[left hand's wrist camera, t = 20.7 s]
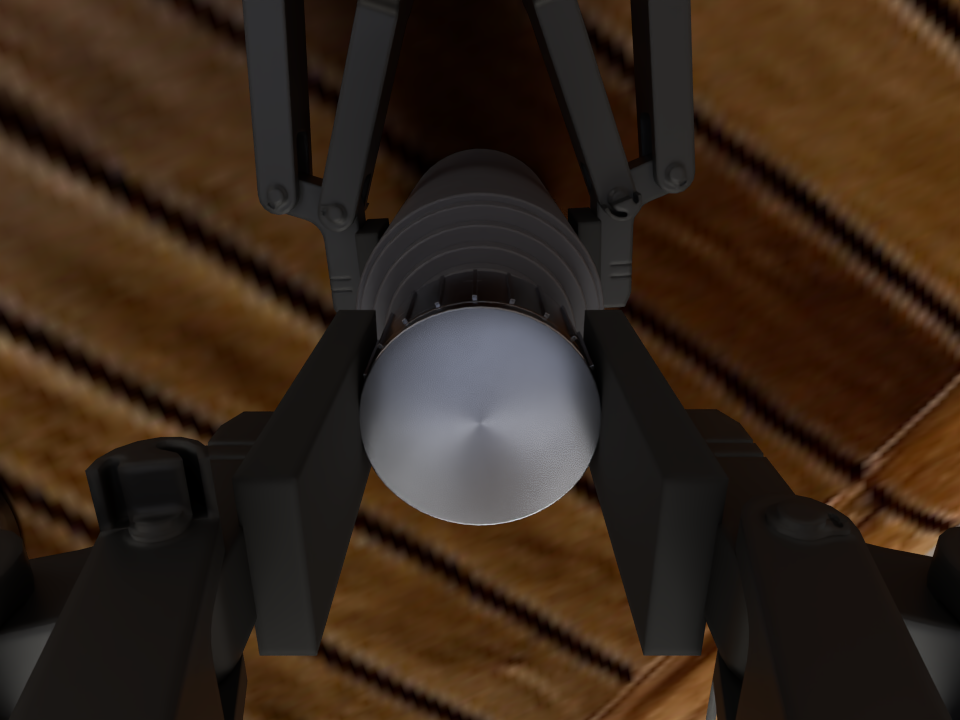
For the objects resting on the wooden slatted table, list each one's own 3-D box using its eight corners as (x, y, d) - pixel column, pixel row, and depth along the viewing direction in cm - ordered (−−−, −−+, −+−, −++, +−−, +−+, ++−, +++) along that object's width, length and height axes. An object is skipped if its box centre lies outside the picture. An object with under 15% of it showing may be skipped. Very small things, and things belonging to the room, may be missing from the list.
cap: (531, 489, 15) (540, 559, 13) (345, 420, 15) (320, 480, 13) (622, 318, 14) (651, 363, 12) (419, 232, 13) (407, 262, 11)
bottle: (562, 154, 29) (683, 251, 12) (545, 301, 31) (624, 559, 14) (408, 142, 28) (302, 222, 11) (403, 291, 31) (310, 539, 14)
